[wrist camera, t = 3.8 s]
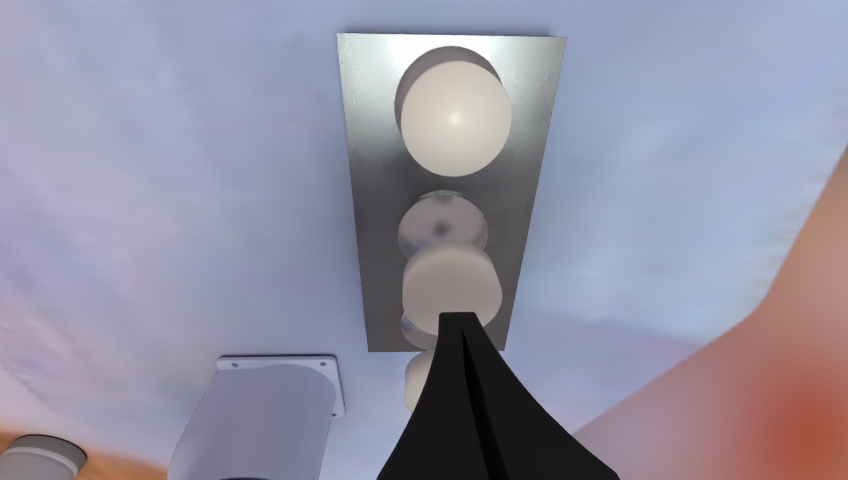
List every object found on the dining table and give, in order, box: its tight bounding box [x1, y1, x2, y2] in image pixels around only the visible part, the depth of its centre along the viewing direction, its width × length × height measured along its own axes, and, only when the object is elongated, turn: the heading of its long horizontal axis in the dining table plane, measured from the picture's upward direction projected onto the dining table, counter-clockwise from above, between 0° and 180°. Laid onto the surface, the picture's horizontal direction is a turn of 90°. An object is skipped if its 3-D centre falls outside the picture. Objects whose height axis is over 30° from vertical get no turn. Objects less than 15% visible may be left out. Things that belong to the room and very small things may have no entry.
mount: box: [336, 33, 567, 352], centre depth 21 cm, size 10×20×2 cm, turn 179°
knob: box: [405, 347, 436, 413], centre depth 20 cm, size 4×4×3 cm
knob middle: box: [402, 240, 502, 335], centre depth 16 cm, size 4×4×3 cm
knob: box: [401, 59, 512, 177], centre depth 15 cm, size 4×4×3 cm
